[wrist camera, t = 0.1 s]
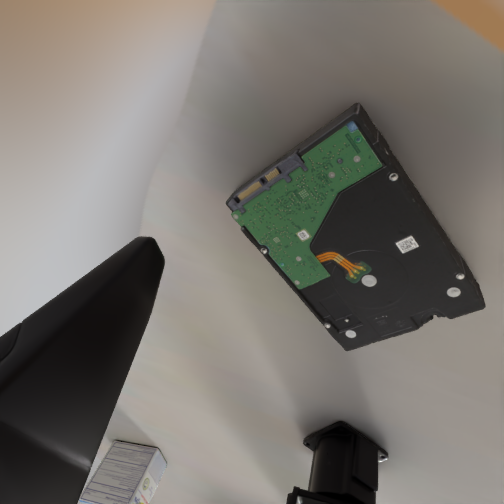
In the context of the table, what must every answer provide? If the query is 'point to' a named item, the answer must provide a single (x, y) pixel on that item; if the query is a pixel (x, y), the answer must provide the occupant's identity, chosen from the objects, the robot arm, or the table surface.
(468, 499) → the table surface
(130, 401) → the table surface
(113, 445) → the medicine box
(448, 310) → the disk drive
